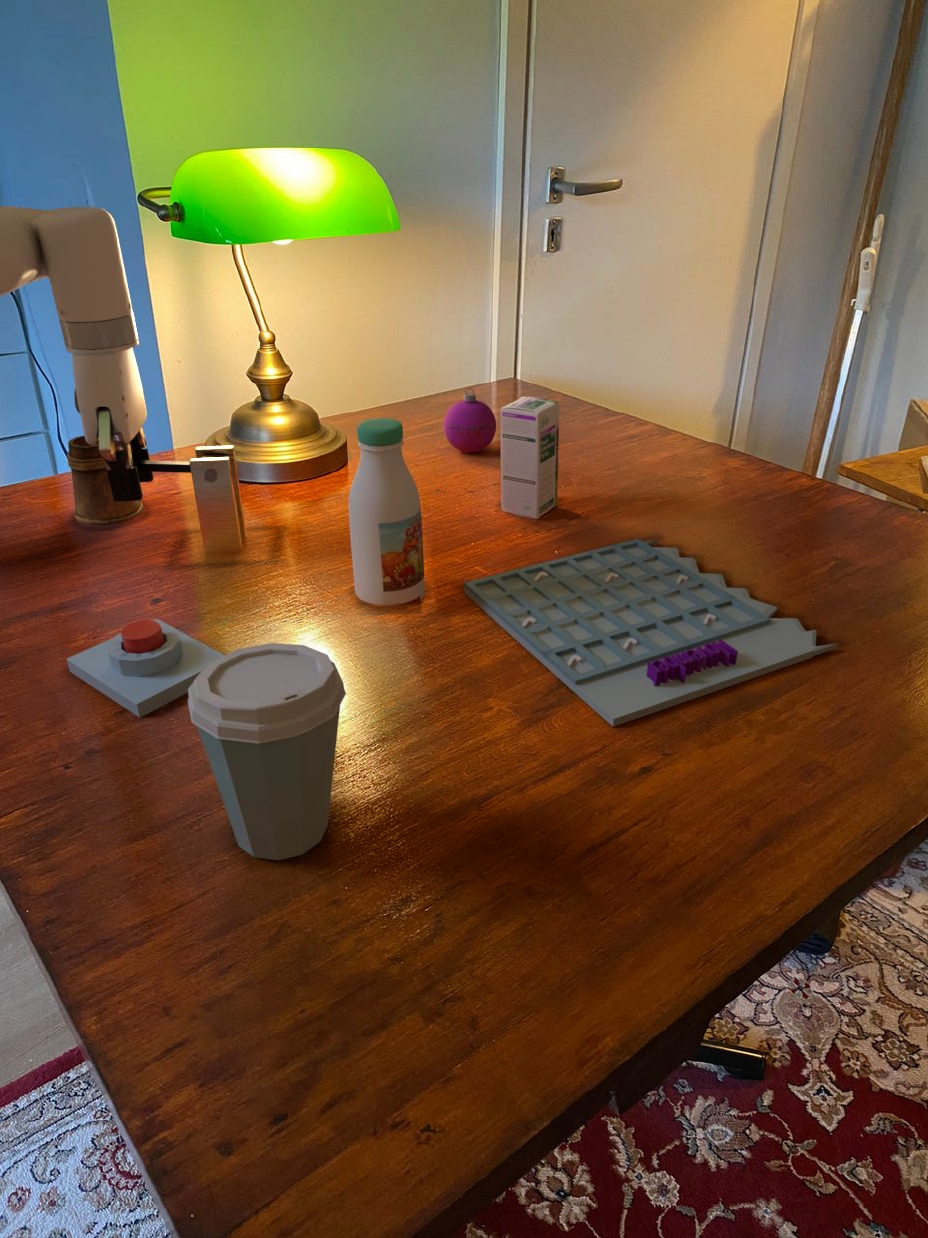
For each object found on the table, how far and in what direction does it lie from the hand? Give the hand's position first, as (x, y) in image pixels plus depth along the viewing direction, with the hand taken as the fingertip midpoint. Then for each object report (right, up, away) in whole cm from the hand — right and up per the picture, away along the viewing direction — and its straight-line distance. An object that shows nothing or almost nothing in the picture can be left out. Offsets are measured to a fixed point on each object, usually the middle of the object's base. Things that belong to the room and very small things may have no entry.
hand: (134, 489), depth 107 cm
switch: (+5, +1, 0) cm, 5 cm away
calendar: (+57, -16, -11) cm, 60 cm away
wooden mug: (-8, -1, +16) cm, 18 cm away
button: (+9, -18, -21) cm, 29 cm away
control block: (+9, -21, -19) cm, 30 cm away
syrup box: (+48, -1, +16) cm, 50 cm away
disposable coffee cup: (+25, -32, -38) cm, 56 cm away
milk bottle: (+31, -13, -6) cm, 34 cm away
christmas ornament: (+40, +11, +36) cm, 55 cm away
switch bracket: (+10, -7, +5) cm, 13 cm away
